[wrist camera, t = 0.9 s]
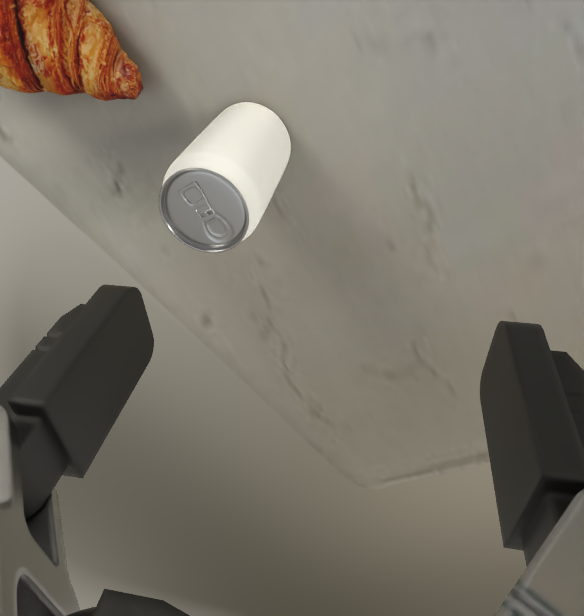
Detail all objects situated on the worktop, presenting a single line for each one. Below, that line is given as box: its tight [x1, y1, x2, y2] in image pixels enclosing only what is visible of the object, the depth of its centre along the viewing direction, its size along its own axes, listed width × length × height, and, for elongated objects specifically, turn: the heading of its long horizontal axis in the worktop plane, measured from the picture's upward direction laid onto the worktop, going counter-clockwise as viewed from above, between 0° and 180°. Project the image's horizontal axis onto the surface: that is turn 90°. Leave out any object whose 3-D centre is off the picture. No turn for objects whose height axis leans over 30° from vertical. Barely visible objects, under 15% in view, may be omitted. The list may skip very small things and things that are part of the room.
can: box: [159, 102, 291, 253], centre depth 33 cm, size 6×6×12 cm
